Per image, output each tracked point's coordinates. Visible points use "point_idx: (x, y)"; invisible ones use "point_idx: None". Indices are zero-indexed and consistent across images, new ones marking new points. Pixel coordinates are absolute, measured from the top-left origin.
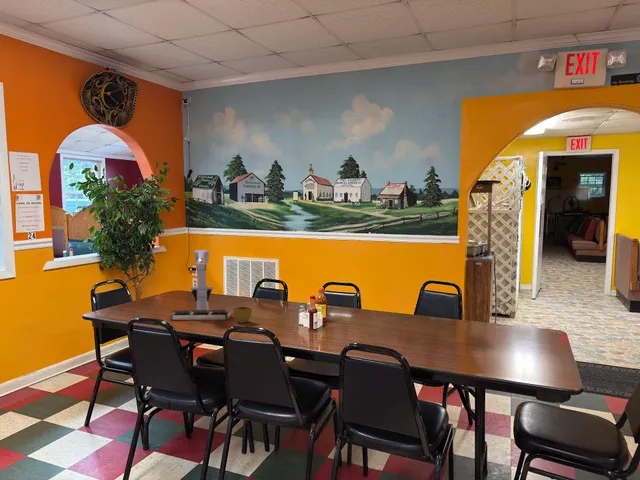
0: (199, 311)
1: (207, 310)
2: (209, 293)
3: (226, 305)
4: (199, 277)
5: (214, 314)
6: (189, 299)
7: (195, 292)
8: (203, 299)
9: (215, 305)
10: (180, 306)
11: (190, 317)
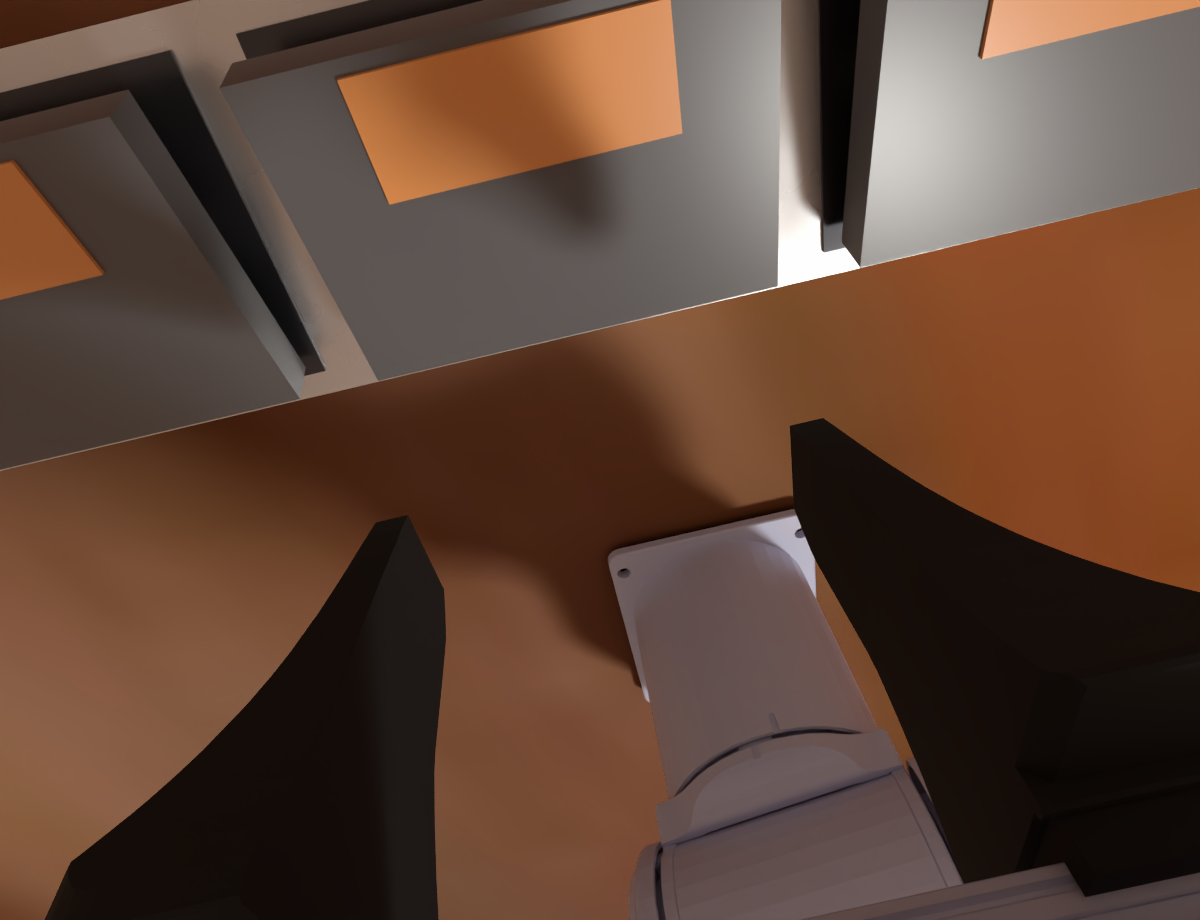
0: (489, 4)
1: (257, 143)
2: (161, 789)
3: (519, 868)
4: None
5: (35, 103)
6: None
7: (1003, 660)
8: (727, 758)
9: (659, 840)
10: None
11: None
